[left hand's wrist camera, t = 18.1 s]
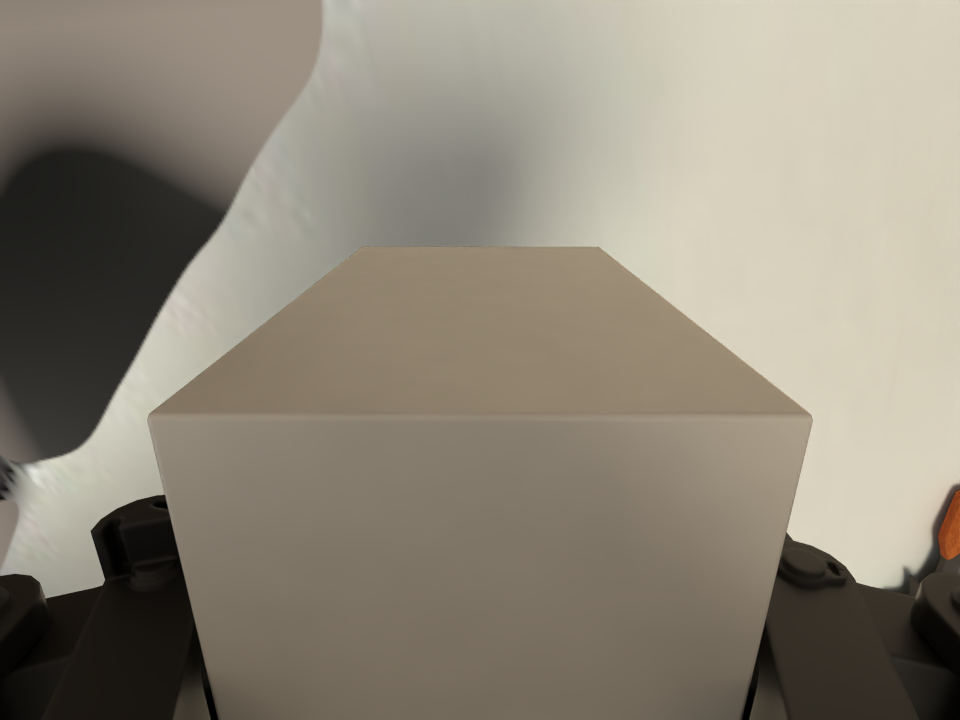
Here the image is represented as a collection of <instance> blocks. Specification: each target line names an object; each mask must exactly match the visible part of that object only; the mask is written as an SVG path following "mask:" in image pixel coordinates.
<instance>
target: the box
mask: <svg viewBox="0 0 960 720" xmlns="http://www.w3.org/2000/svg"><path fill="white" fill-rule="evenodd" d="M812 422H813V421H812V416H811V414H810V413H809V412H807V411H806V410H805V409H803V408H802V407H801V406H800V405H798V404H797V403H796V402H795V401H793V400H792V399H791V398H790V397H788V396H787V395H786V394H784V393H783V392H782V391H781V390H779V389H778V388H777V387H776V386H774V385H773V384H772V383H770V382H769V381H768V380H767V379H765V378H764V377H763V376H762V375H760V374H759V373H758V372H757V371H755V370H754V369H753V368H751V367H750V366H749V365H748V364H746V363H745V362H744V361H743V360H741V359H740V358H739V357H738V356H736V355H735V354H734V353H732V352H731V351H730V350H729V349H727V348H726V347H725V346H724V345H722V344H721V343H720V342H719V341H717V340H716V339H715V338H713V337H712V336H711V335H710V334H708V333H707V332H706V331H705V330H703V329H702V328H701V327H700V326H698V325H697V324H696V323H694V322H693V321H692V320H691V319H689V318H688V317H687V316H686V315H684V314H683V313H682V312H680V311H679V310H678V309H677V308H675V307H674V306H673V305H672V304H670V303H669V302H668V301H667V300H665V299H664V298H663V297H661V296H660V295H659V294H658V293H656V292H655V291H654V290H653V289H651V288H650V287H649V286H648V285H646V284H645V283H644V282H642V281H641V280H640V279H639V278H637V277H636V276H635V275H634V274H632V273H631V272H630V271H629V270H627V269H626V268H625V267H623V266H622V265H621V264H620V263H618V262H617V261H616V260H615V259H613V258H612V257H611V256H610V255H608V254H607V253H606V252H604V251H603V250H602V249H601V248H599V247H362V248H360V249H359V250H358V251H356V252H355V253H354V254H352V255H351V256H350V257H349V258H347V259H346V260H345V261H344V262H342V263H341V264H340V265H338V266H337V267H336V268H335V269H333V270H332V271H331V272H330V273H328V274H327V275H326V276H324V277H323V278H322V279H321V280H319V281H318V282H317V283H316V284H314V285H313V286H312V287H310V288H309V289H308V290H307V291H305V292H304V293H303V294H301V295H300V296H299V297H298V298H296V299H295V300H294V301H293V302H291V303H290V304H289V305H287V306H286V307H285V308H284V309H282V310H281V311H280V312H279V313H277V314H276V315H275V316H273V317H272V318H271V319H270V320H268V321H267V322H266V323H264V324H263V325H262V326H261V327H259V328H258V329H257V330H256V331H254V332H253V333H252V334H250V335H249V336H248V337H247V338H245V339H244V340H243V341H242V342H240V343H239V344H238V345H236V346H235V347H234V348H233V349H231V350H230V351H229V352H228V353H226V354H225V355H224V356H222V357H221V358H220V359H219V360H217V361H216V362H215V363H213V364H212V365H211V366H210V367H208V368H207V369H206V370H205V371H203V372H202V373H201V374H199V375H198V376H197V377H196V378H194V379H193V380H192V381H191V382H189V383H188V384H187V385H185V386H184V387H183V388H182V389H180V390H179V391H178V392H177V393H175V394H174V395H173V396H171V397H170V398H169V399H168V400H166V401H165V402H164V403H162V404H161V405H160V406H159V407H157V408H156V409H155V410H154V411H152V412H151V413H150V414H149V416H148V425H149V429H150V434H151V438H152V442H153V446H154V450H155V455H156V459H157V463H158V467H159V472H160V476H161V480H162V484H163V488H164V493H165V497H166V501H167V505H168V509H169V514H170V518H171V522H172V526H173V531H174V535H175V539H176V543H177V547H178V552H179V556H180V560H181V564H182V569H183V573H184V577H185V581H186V585H187V590H188V594H189V598H190V602H191V607H192V611H193V615H194V619H195V623H196V628H197V632H198V636H199V640H200V645H201V649H202V653H203V657H204V661H205V666H206V670H207V674H208V678H209V683H210V687H211V691H212V695H213V699H214V704H215V708H216V712H217V716H218V720H742V717H743V712H744V708H745V704H746V700H747V696H748V691H749V687H750V683H751V679H752V675H753V670H754V666H755V662H756V658H757V653H758V649H759V645H760V641H761V637H762V632H763V628H764V624H765V620H766V616H767V611H768V607H769V603H770V599H771V594H772V590H773V586H774V582H775V578H776V573H777V569H778V565H779V561H780V557H781V552H782V548H783V544H784V540H785V536H786V531H787V527H788V523H789V519H790V514H791V510H792V506H793V502H794V498H795V493H796V489H797V485H798V481H799V477H800V472H801V468H802V464H803V460H804V455H805V451H806V447H807V443H808V439H809V434H810V430H811V426H812Z"/></svg>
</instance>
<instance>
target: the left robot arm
mask: <svg viewBox="0 0 960 720" xmlns="http://www.w3.org/2000/svg"><path fill="white" fill-rule="evenodd" d="M91 534H92V538H93V541H94V544H95V547H96V551H97V554H98V557H99V561H100V564H101V567H102V571H103V574H104V577H105V582H104V584H103V586H99V587H96V588H92V589H88V590H83V591H78V592H74V593H69V594H65V595H60V596H55V597H51V598H46V599H45V596H44V593H43V590H42V588H41V585H40V582H38V581H37V580H36V579H35V578H33V577H32V576H29V575H20V574H11V575H5V576H0V720H218V716H217V712H216V708H215V704H214V699H213V695H212V691H211V687H210V683H209V678H208V674H207V670H206V666H205V661H204V657H203V653H202V649H201V645H200V640H199V636H198V632H197V628H196V623H195V619H194V615H193V611H192V607H191V602H190V598H189V594H188V590H187V585H186V581H185V577H184V573H183V569H182V564H181V560H180V556H179V552H178V547H177V543H176V539H175V535H174V531H173V526H172V522H171V518H170V514H169V509H168V505H167V501H166V497H165V495H157V496H153V497H148V498H144V499H140V500H136V501H134V502H132V503H129V504H127V505H125V506H122V507H120V508H117V509H116V510H114V511H113V512H111V513H110V514H108V515H107V516H105V517H104V518H102V519H101V520H100V521H99V522H98V523H97V524H96V526H95V527H94V528H93V529H92V530H91ZM742 720H960V574H959V573H953V572H938V573H930V574H929V575H928V576H926V577H925V578H924V579H922V581H921V583H920V586H919V589H918V592H917V595H916V596H912V595H907V594H903V593H898V592H893V591H889V590H884V589H879V588H875V587H870V586H866V585H863V584H859V583H856V581H855V579H854V577H853V576H852V575H851V573H850V572H849V571H848V569H847V568H846V567H845V566H844V565H843V564H842V563H840V562H839V561H838V560H836V559H835V558H834V557H832V556H831V555H830V554H828V553H825V552H823V551H821V550H819V549H817V548H815V547H813V546H811V545H807V544H803V543H800V542H796V541H793V540H792V538H791V537H790V536H789V535H788V534H787V532H786V536H785V540H784V544H783V548H782V552H781V557H780V561H779V565H778V569H777V573H776V578H775V582H774V586H773V590H772V594H771V599H770V603H769V607H768V611H767V616H766V620H765V624H764V628H763V632H762V637H761V641H760V645H759V649H758V653H757V658H756V662H755V666H754V670H753V675H752V679H751V683H750V687H749V691H748V696H747V700H746V704H745V708H744V712H743V717H742Z"/></svg>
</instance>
